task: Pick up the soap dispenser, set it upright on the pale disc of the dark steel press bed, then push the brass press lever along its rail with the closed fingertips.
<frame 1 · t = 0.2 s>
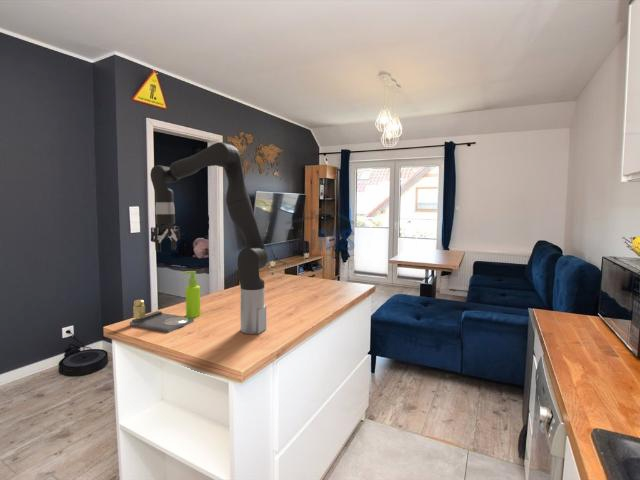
hand: (166, 250, 149), 29 cm above the table, fingers open, 8 cm apart
soap dispenser: (192, 316, 153), on the table
press bed: (162, 323, 142), on the table
press lever: (139, 309, 140), point 6 cm above the table, slide at 0.0 cm
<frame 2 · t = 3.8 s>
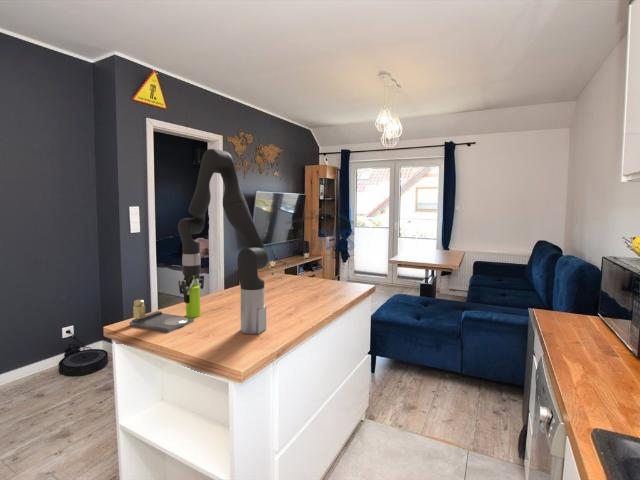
hand: (192, 300, 152), 7 cm above the table, fingers closed on soap dispenser, 6 cm apart
soap dispenser: (192, 316, 153), on the table, touching gripper
everything else where it was.
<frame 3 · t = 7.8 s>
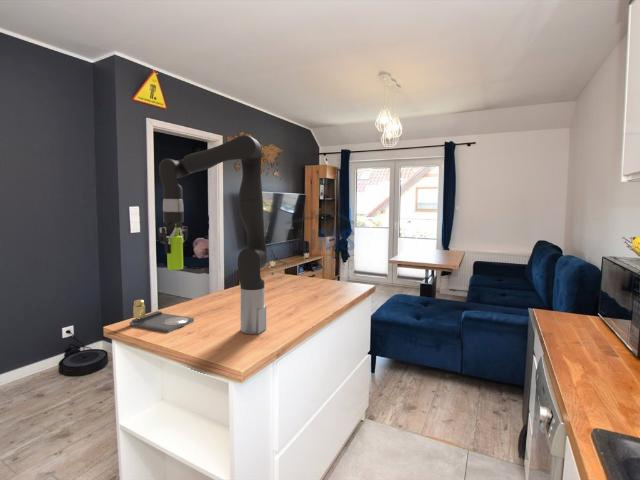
hand: (174, 252, 138), 30 cm above the table, fingers closed on soap dispenser, 6 cm apart
soap dispenser: (174, 269, 138), point 23 cm above the table, touching gripper
everything else where it was.
when the fingers open (9 cm above the table, at t = 12.0 s): soap dispenser stays where it is, resting on press bed.
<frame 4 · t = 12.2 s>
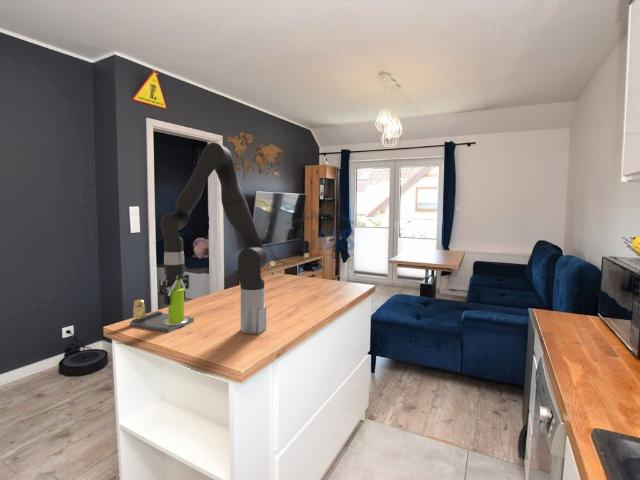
hand: (175, 302, 140), 9 cm above the table, fingers open, 7 cm apart
soap dispenser: (175, 321, 140), point 1 cm above the table, touching press bed
everything else where it was.
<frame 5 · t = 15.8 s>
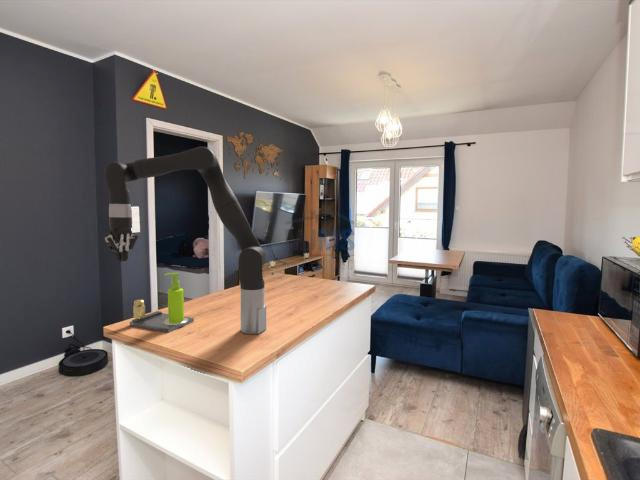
hand: (122, 261, 132), 27 cm above the table, fingers closed
nothing on the table moved.
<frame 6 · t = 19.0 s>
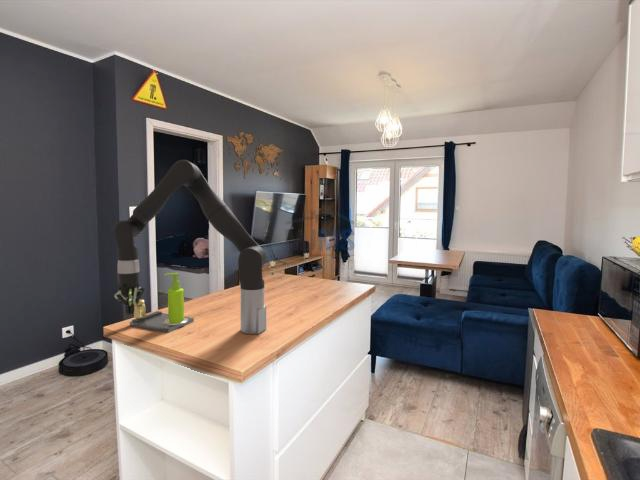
hand: (130, 314, 136), 5 cm above the table, fingers closed
press lever: (139, 308, 141), point 6 cm above the table, slide at 0.3 cm, touching gripper
everything else where it was.
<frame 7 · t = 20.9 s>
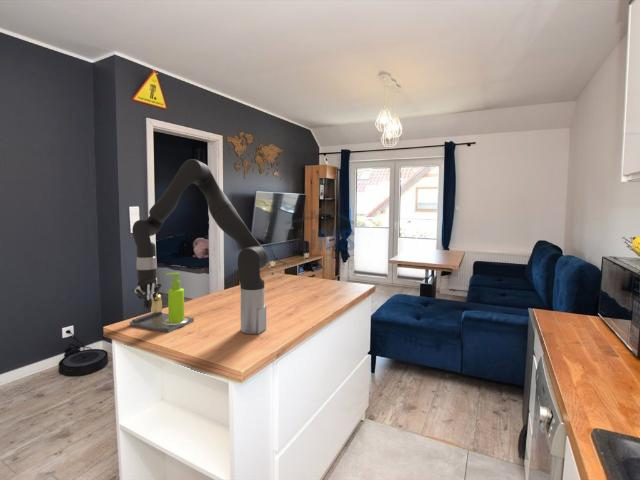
hand: (148, 308, 145), 5 cm above the table, fingers closed
press lever: (156, 303, 149), point 6 cm above the table, slide at 9.0 cm, touching gripper
everything else where it was.
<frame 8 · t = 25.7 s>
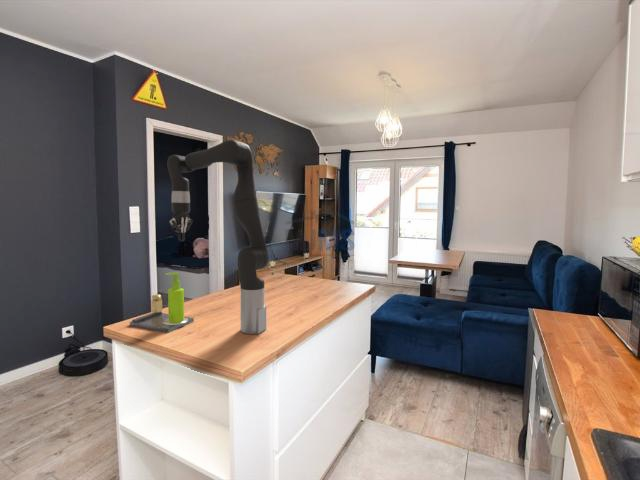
hand: (181, 241, 153), 33 cm above the table, fingers closed
press lever: (156, 303, 149), point 6 cm above the table, slide at 9.0 cm
everything else where it was.
at the end: soap dispenser inside the target area (0.7 cm from its centre), point 1.4 cm above the table; soap dispenser tilted 1°; press lever slide at 9.0 cm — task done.
